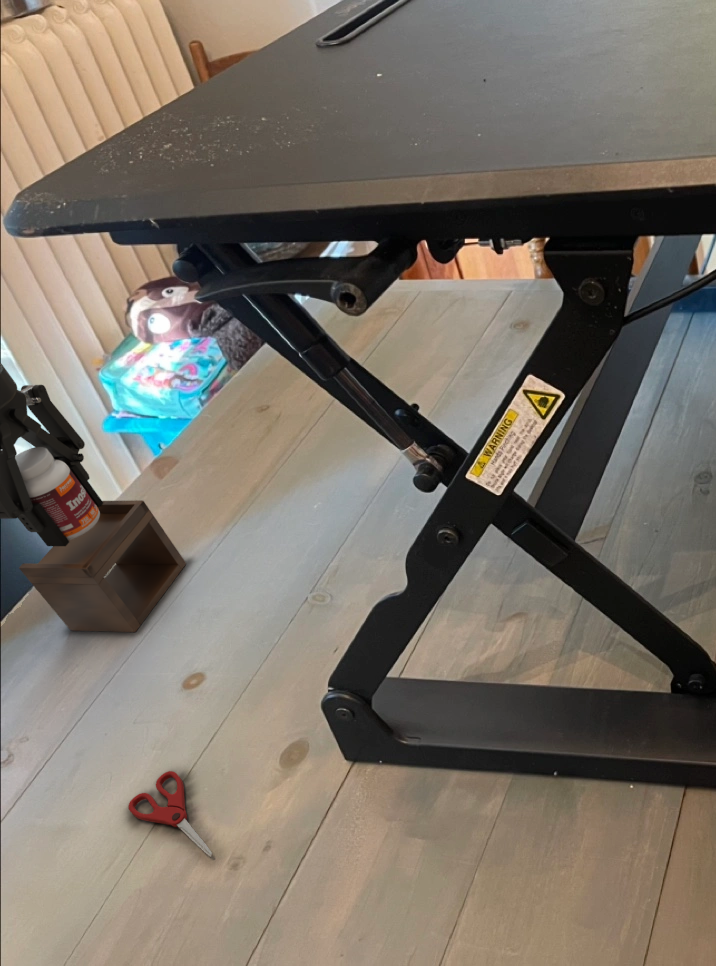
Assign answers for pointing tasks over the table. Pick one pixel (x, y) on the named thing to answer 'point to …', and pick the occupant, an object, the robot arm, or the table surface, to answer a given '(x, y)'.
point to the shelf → (88, 558)
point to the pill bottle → (57, 492)
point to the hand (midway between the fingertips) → (75, 523)
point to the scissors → (169, 809)
